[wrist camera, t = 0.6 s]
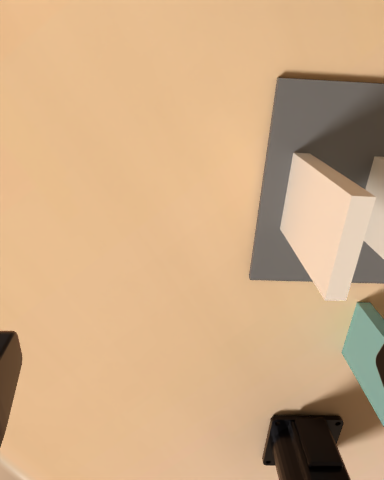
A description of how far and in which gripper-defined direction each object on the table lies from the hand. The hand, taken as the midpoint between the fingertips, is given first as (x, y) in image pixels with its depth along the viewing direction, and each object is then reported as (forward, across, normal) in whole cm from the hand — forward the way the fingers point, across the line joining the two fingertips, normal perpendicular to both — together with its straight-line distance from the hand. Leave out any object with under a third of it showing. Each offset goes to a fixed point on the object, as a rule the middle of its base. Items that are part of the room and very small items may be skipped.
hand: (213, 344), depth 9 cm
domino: (+14, -8, +2) cm, 16 cm away
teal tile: (+12, -15, +13) cm, 23 cm away
